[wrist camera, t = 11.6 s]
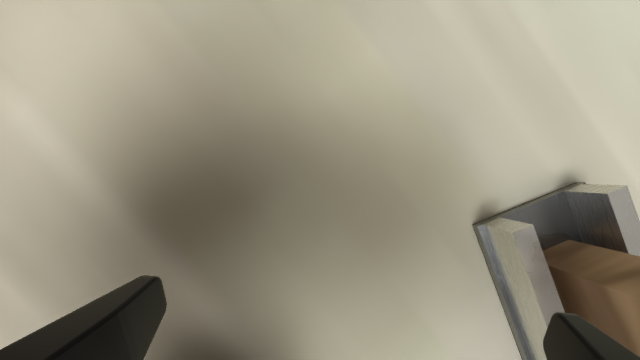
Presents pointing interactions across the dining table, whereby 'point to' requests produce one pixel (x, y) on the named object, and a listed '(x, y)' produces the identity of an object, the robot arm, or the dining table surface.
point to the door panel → (599, 288)
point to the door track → (542, 233)
